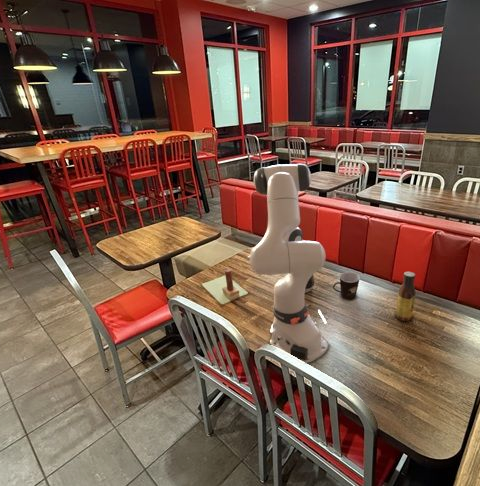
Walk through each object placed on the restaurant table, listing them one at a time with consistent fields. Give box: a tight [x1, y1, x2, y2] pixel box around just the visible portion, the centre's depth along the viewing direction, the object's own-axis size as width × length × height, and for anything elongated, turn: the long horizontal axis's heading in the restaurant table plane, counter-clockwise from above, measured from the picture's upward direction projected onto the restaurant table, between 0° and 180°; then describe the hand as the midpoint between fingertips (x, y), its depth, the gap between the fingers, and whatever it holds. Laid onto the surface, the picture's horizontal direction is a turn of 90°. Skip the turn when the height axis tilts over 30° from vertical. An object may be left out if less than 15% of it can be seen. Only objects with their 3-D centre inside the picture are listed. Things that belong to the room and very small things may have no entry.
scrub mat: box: [201, 274, 249, 305], centre depth 150 cm, size 22×14×1 cm, turn 36°
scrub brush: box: [222, 268, 240, 301], centre depth 142 cm, size 7×5×13 cm
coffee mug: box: [332, 271, 361, 301], centre depth 139 cm, size 12×9×10 cm
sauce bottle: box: [395, 271, 417, 322], centre depth 122 cm, size 6×6×20 cm
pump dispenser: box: [305, 274, 315, 294], centre depth 144 cm, size 10×10×15 cm
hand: (252, 262), depth 146 cm, fingers open, 8 cm apart
